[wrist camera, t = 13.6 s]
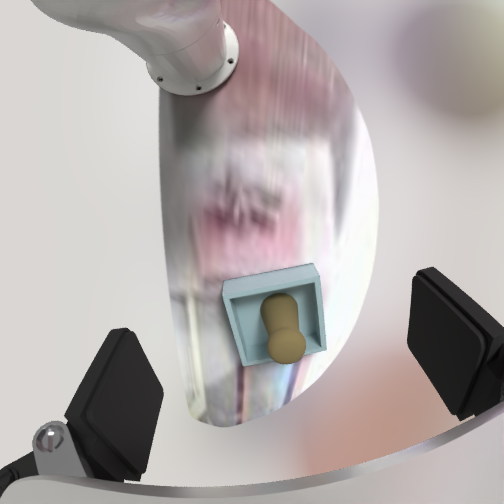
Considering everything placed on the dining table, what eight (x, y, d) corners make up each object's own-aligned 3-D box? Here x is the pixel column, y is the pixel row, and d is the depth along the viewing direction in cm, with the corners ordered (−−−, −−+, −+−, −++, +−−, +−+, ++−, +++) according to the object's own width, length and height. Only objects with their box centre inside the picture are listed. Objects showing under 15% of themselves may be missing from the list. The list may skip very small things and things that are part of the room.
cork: (281, 330, 48) (290, 377, 38) (252, 313, 47) (254, 359, 37) (305, 304, 47) (321, 348, 36) (275, 285, 45) (285, 327, 35)
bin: (223, 280, 45) (222, 294, 41) (312, 262, 45) (319, 275, 40) (242, 349, 50) (243, 366, 46) (320, 333, 50) (326, 350, 45)
